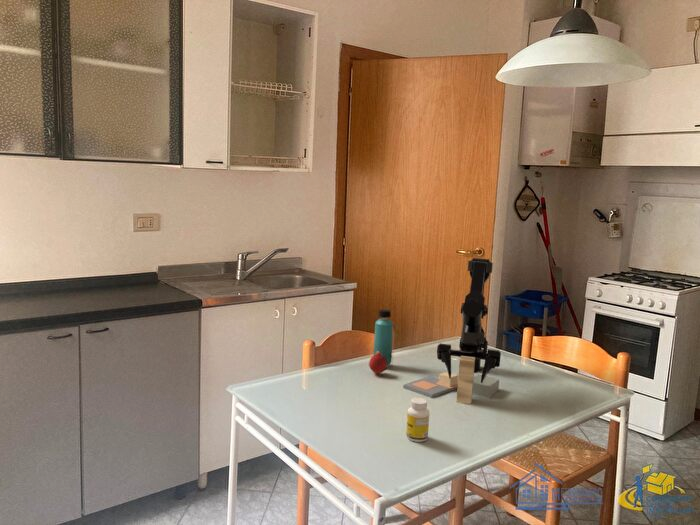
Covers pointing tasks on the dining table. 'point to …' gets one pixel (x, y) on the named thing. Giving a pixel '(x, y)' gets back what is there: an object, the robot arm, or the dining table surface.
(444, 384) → the board
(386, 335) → the beverage bottle
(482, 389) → the cover
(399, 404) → the dining table surface
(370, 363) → the onion
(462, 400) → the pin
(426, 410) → the supplement bottle
